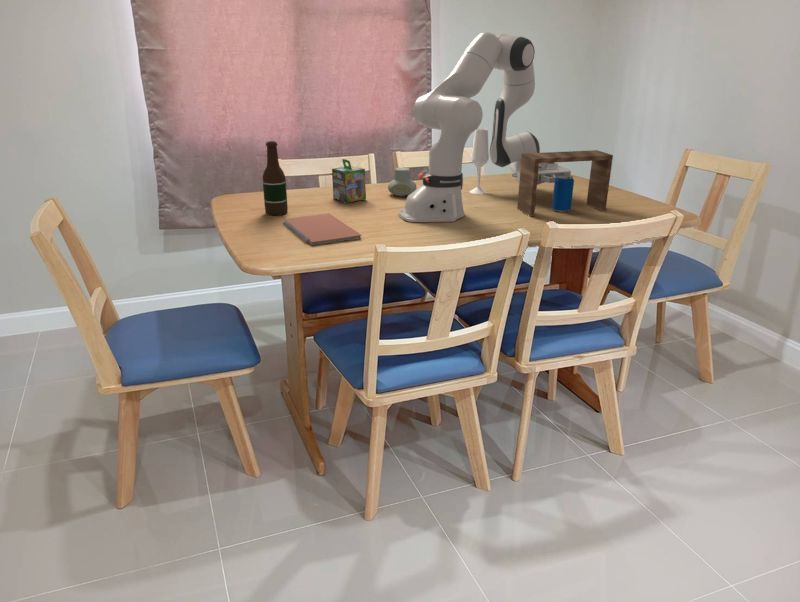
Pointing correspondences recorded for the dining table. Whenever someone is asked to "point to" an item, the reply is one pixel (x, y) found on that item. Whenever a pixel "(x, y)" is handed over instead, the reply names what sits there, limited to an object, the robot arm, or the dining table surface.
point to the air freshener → (402, 183)
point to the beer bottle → (274, 183)
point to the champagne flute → (480, 154)
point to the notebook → (320, 229)
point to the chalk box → (348, 183)
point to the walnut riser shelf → (598, 167)
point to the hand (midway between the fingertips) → (553, 180)
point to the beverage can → (563, 193)
